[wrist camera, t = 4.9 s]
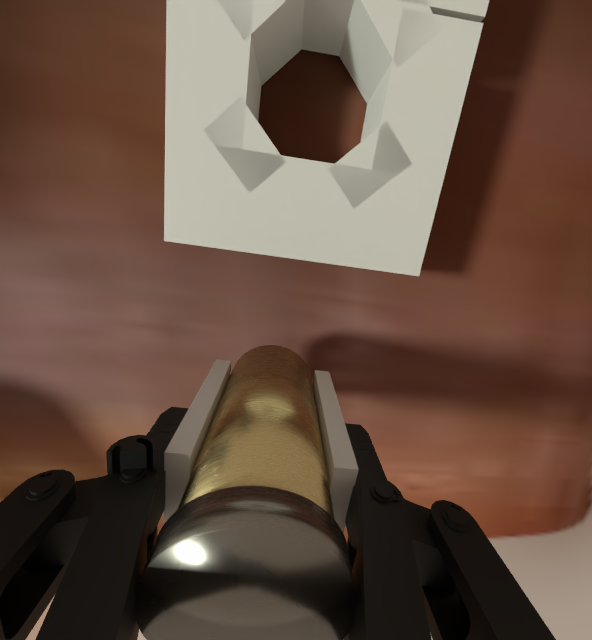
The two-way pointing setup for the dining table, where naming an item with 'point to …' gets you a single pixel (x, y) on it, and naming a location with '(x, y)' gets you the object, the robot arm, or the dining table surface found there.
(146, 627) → the gold grey cylinder
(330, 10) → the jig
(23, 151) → the dining table surface
